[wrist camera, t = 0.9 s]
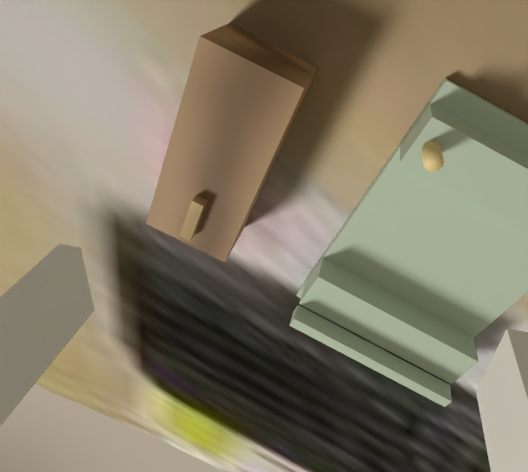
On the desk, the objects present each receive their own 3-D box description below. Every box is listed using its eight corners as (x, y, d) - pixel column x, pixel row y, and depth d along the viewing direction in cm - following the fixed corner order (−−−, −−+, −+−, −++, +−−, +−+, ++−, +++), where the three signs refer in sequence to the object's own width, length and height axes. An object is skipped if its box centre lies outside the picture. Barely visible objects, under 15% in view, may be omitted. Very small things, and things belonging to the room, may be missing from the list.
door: (175, 191, 35) (140, 229, 30) (230, 23, 27) (194, 38, 22) (245, 225, 35) (221, 269, 30) (318, 67, 27) (301, 92, 23)
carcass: (297, 291, 37) (284, 334, 32) (445, 77, 26) (454, 102, 21) (436, 364, 37) (441, 415, 33) (640, 185, 26) (684, 229, 22)
